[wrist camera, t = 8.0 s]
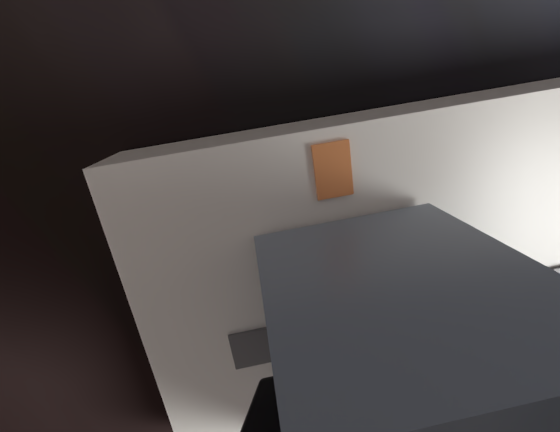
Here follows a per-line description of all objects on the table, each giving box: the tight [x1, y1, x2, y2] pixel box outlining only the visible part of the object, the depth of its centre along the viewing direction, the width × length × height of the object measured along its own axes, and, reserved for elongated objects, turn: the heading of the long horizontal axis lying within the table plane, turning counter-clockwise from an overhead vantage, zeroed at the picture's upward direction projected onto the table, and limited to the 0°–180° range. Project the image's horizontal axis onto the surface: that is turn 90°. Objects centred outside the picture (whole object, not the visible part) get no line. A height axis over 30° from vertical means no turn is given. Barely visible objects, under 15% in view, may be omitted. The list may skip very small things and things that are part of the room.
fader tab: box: [254, 203, 560, 432], centre depth 6 cm, size 6×4×5 cm, turn 9°
